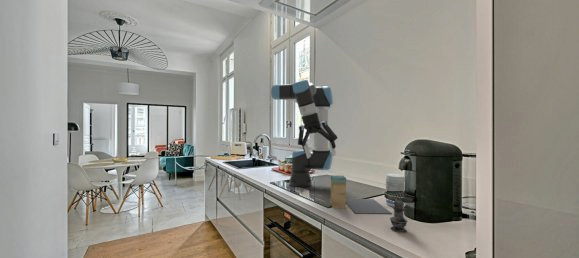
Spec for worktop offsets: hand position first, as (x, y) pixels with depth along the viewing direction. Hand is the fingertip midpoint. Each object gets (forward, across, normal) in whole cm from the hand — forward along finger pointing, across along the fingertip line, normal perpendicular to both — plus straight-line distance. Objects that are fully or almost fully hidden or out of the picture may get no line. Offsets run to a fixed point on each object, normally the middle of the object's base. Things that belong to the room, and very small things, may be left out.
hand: (321, 156), depth 115 cm
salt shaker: (+25, +32, -16) cm, 44 cm away
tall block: (+25, +3, -3) cm, 25 cm away
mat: (+29, +13, +4) cm, 32 cm away
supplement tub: (+34, +24, +14) cm, 44 cm away
